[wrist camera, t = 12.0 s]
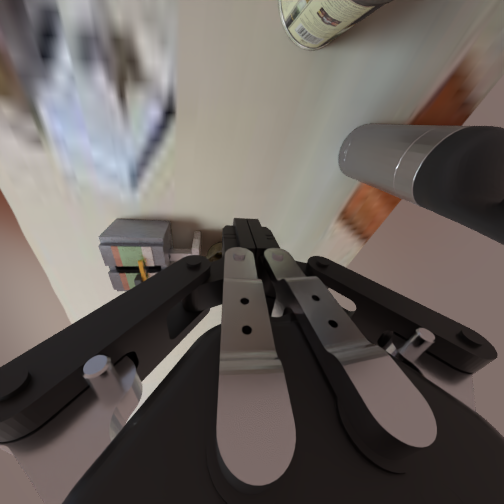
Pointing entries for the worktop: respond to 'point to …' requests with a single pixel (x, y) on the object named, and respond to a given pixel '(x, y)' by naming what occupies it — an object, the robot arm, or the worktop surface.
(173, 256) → the plunger
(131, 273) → the gauge housing
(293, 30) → the coffee can
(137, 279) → the block
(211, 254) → the cup
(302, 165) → the worktop surface
